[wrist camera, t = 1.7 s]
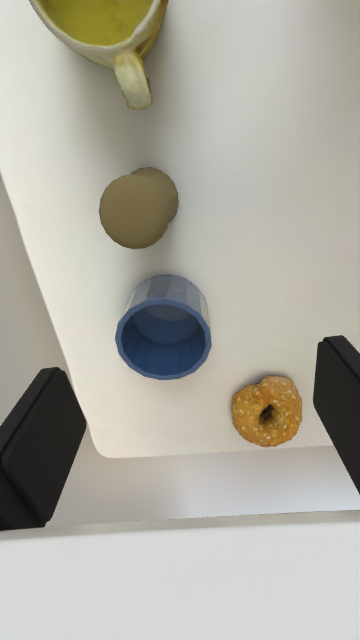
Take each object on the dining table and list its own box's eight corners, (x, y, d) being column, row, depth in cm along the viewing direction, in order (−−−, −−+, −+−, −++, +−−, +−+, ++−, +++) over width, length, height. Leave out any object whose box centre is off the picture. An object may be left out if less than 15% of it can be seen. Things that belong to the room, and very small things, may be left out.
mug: (-6, -112, 19) (-49, -246, 12) (143, -108, 21) (190, -222, 14) (58, 114, 27) (58, 121, 19) (164, 101, 29) (200, 103, 21)
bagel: (314, 383, 41) (329, 408, 36) (275, 433, 46) (283, 460, 41) (251, 362, 39) (258, 386, 35) (217, 416, 44) (220, 443, 40)
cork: (120, 227, 31) (90, 255, 21) (119, 164, 28) (84, 163, 19) (176, 232, 31) (171, 263, 22) (180, 170, 28) (177, 172, 19)
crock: (120, 279, 34) (105, 304, 28) (203, 269, 33) (207, 293, 27) (136, 348, 39) (126, 383, 32) (209, 341, 38) (214, 376, 32)
